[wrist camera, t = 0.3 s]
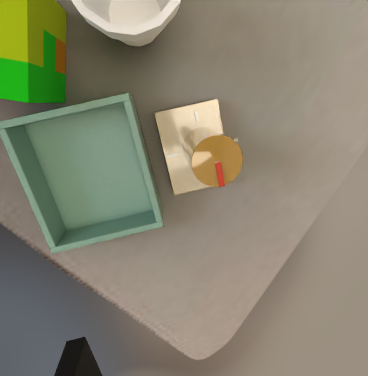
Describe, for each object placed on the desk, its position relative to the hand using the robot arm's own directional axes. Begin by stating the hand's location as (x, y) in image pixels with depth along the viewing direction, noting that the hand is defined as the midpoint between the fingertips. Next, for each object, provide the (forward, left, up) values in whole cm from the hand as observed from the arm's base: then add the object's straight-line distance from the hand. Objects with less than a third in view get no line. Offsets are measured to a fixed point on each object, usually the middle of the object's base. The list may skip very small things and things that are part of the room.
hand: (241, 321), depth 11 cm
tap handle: (-3, +3, -25) cm, 25 cm away
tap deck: (-3, +2, -27) cm, 28 cm away
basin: (-3, -11, -27) cm, 30 cm away
